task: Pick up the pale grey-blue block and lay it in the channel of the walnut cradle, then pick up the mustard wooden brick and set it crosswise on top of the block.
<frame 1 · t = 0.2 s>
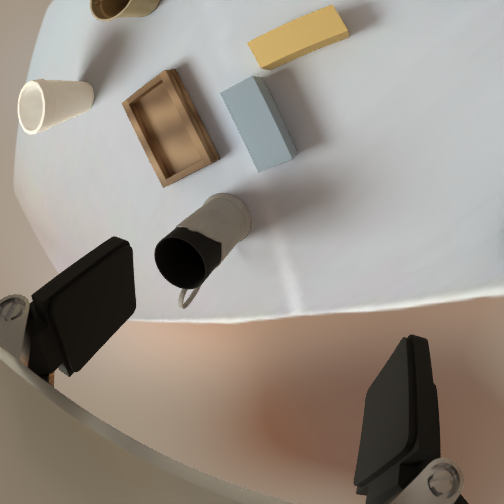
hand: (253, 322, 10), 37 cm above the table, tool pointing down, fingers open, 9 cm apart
mustard wooden brick: (302, 41, 35), on the table
pale grey-blue block: (265, 121, 42), on the table
glass holder: (223, 232, 53), on the table
flower pot: (146, 1, 37), on the table
foam cup: (84, 97, 49), on the table
cradle: (172, 127, 47), on the table
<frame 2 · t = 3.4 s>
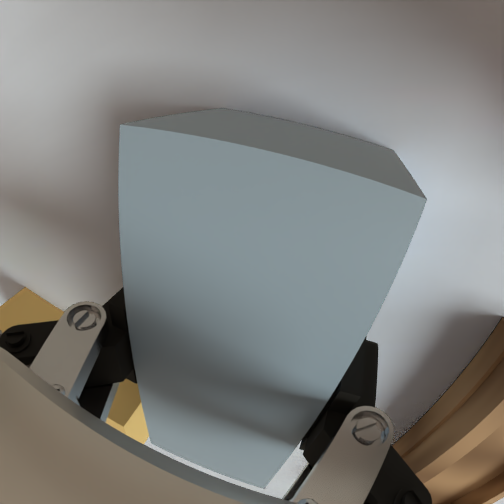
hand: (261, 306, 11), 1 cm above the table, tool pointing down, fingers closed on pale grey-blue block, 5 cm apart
mustard wooden brick: (89, 342, 18), on the table
pale grey-blue block: (266, 297, 11), on the table, touching gripper
cradle: (475, 444, 12), on the table
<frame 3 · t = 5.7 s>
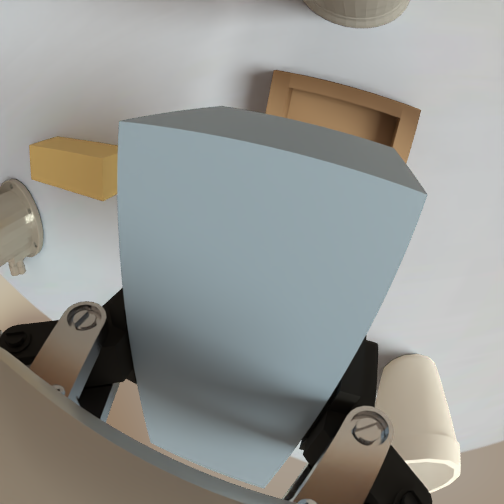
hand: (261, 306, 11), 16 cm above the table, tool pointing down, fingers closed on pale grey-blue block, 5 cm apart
mustard wooden brick: (91, 158, 30), on the table
pale grey-blue block: (266, 296, 11), point 15 cm above the table, touching gripper
foam cup: (409, 372, 29), on the table
cradle: (324, 189, 24), on the table
when the fingers open (4 cm above the table, at t = 8.4 s): pale grey-blue block drops 2 cm, resting on cradle.
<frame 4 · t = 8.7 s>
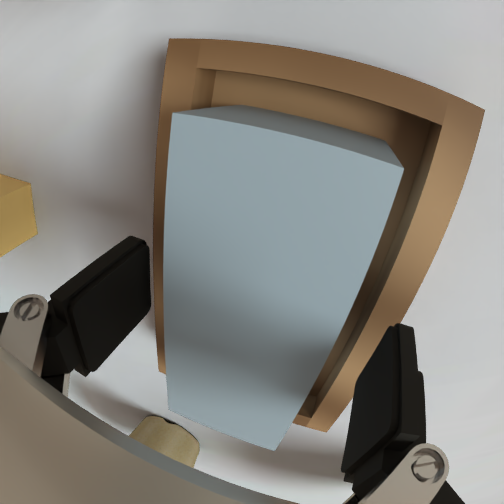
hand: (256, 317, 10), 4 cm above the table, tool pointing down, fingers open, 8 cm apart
mustard wooden brick: (0, 193, 20), on the table
pale grey-blue block: (277, 269, 13), point 1 cm above the table, touching cradle
flower pot: (173, 431, 27), on the table
cradle: (286, 255, 14), on the table
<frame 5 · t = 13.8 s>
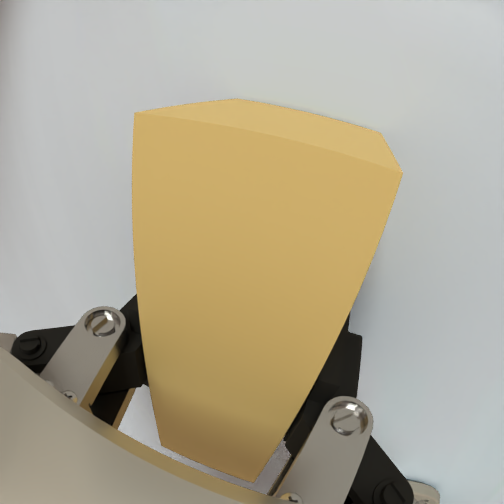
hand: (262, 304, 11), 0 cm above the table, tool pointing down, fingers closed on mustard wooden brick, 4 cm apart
mustard wooden brick: (267, 291, 11), on the table, touching gripper
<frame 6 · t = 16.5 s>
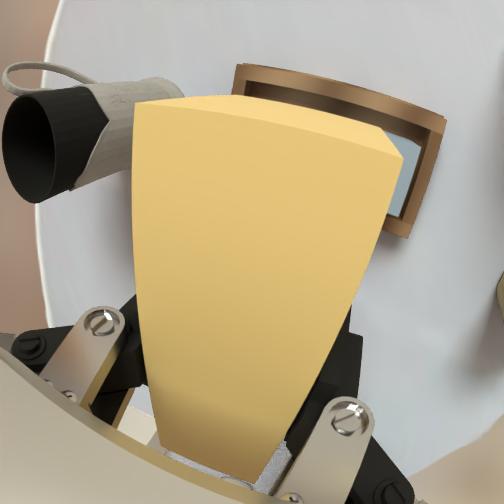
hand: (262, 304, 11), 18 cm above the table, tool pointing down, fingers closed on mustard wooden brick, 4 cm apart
mustard wooden brick: (268, 288, 11), point 18 cm above the table, touching gripper
pale grey-blue block: (329, 146, 23), point 1 cm above the table, touching cradle
glass holder: (138, 101, 28), on the table
milk: (144, 423, 60), on the table
cradle: (330, 143, 24), on the table
alcohol: (236, 483, 62), on the table
when the fingers open (7 cm above the table, at t = 19.1 s): mustard wooden brick stays where it is, resting on pale grey-blue block.
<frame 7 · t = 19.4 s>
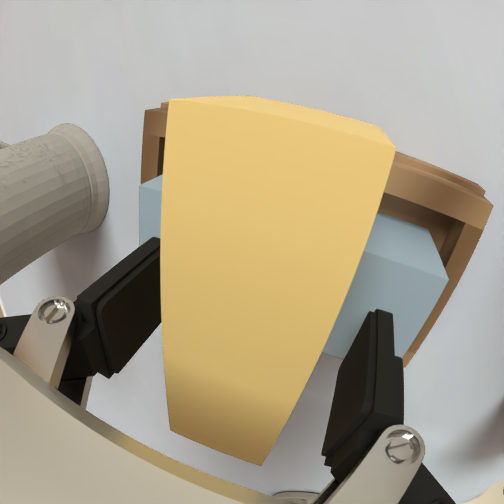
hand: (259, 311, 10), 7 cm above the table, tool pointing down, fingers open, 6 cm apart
mustard wooden brick: (275, 275, 12), point 6 cm above the table, touching pale grey-blue block
pale grey-blue block: (297, 237, 16), point 1 cm above the table, touching cradle, mustard wooden brick
glass holder: (54, 154, 20), on the table
cradle: (301, 225, 17), on the table
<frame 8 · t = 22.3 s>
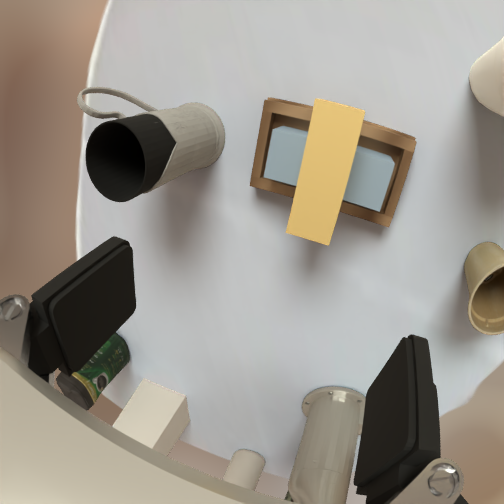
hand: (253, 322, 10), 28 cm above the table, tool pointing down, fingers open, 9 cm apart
mustard wooden brick: (328, 164, 29), point 6 cm above the table, touching pale grey-blue block
pale grey-blue block: (331, 160, 33), point 1 cm above the table, touching cradle, mustard wooden brick
glass holder: (181, 120, 37), on the table
flower pot: (483, 262, 32), on the table
foam cup: (491, 83, 23), on the table
coffee jar: (117, 343, 65), on the table
milk: (167, 400, 70), on the table
cradle: (332, 158, 34), on the table
alcohol: (250, 455, 72), on the table
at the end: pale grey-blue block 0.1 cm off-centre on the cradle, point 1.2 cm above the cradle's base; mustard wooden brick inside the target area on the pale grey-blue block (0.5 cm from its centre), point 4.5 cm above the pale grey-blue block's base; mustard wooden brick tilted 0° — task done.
